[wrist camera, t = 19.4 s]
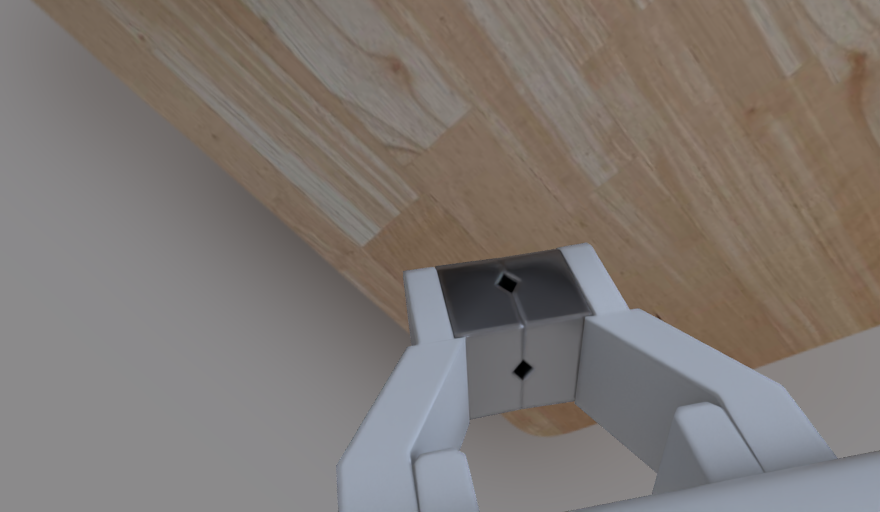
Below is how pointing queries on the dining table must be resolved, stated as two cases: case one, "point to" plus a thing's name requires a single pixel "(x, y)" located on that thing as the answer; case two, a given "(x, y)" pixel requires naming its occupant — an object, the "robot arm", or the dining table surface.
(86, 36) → the dining table surface
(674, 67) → the dining table surface
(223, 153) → the dining table surface
